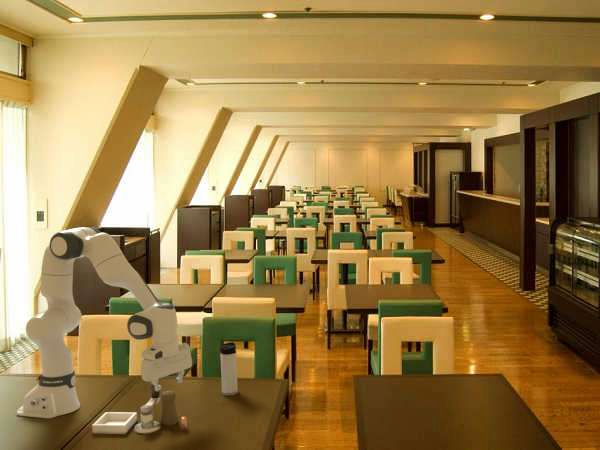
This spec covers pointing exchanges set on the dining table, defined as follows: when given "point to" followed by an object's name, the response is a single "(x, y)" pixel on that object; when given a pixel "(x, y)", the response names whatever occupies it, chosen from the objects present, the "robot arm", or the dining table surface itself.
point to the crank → (151, 401)
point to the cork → (168, 408)
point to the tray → (114, 423)
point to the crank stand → (153, 424)
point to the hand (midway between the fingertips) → (168, 386)
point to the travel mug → (228, 369)
